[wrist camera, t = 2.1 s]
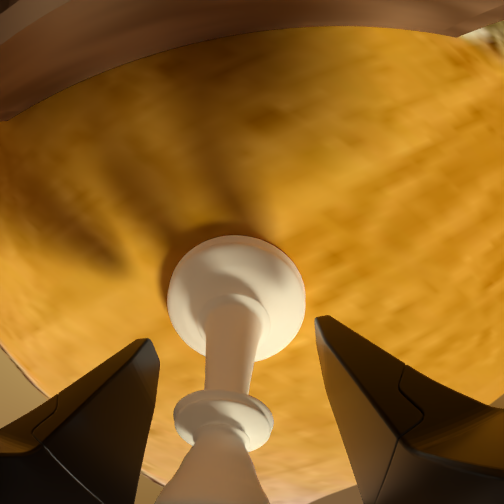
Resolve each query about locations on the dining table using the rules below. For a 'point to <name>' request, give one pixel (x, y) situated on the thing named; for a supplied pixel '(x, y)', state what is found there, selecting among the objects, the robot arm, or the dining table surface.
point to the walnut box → (181, 32)
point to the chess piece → (229, 361)
